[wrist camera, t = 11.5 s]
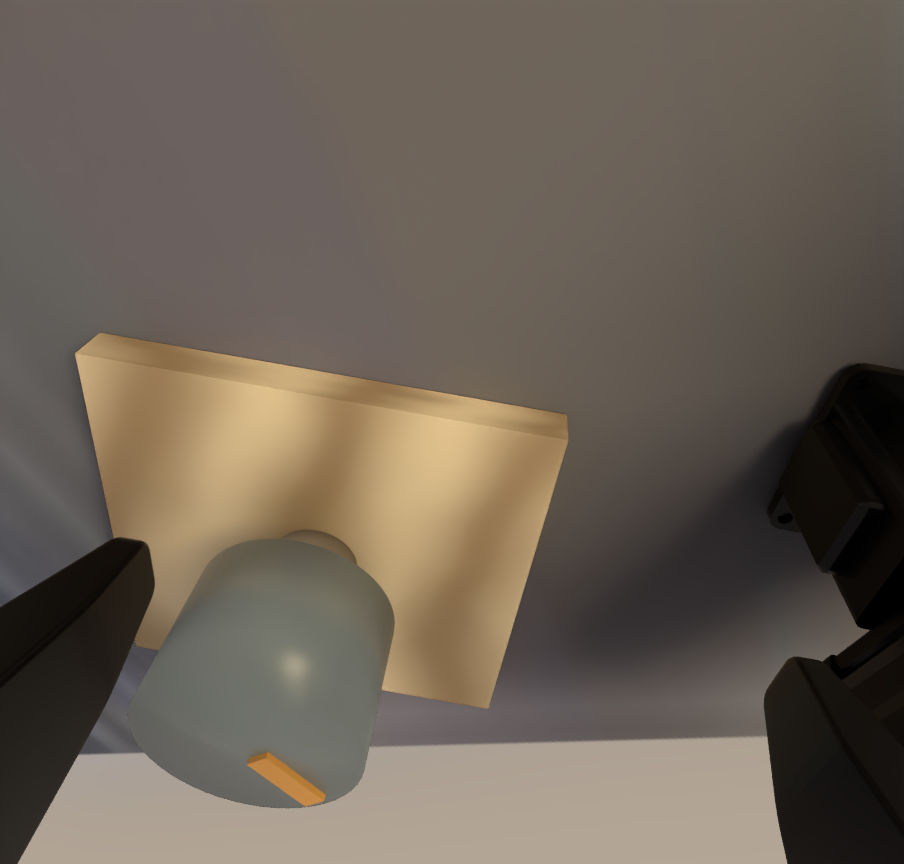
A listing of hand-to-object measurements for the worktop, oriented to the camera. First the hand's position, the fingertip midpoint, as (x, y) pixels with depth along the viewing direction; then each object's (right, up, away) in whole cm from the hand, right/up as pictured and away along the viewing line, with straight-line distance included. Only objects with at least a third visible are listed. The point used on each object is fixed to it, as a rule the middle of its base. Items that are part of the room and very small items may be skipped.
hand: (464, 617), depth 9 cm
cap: (-6, -4, +14) cm, 16 cm away
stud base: (-5, -2, +18) cm, 18 cm away
